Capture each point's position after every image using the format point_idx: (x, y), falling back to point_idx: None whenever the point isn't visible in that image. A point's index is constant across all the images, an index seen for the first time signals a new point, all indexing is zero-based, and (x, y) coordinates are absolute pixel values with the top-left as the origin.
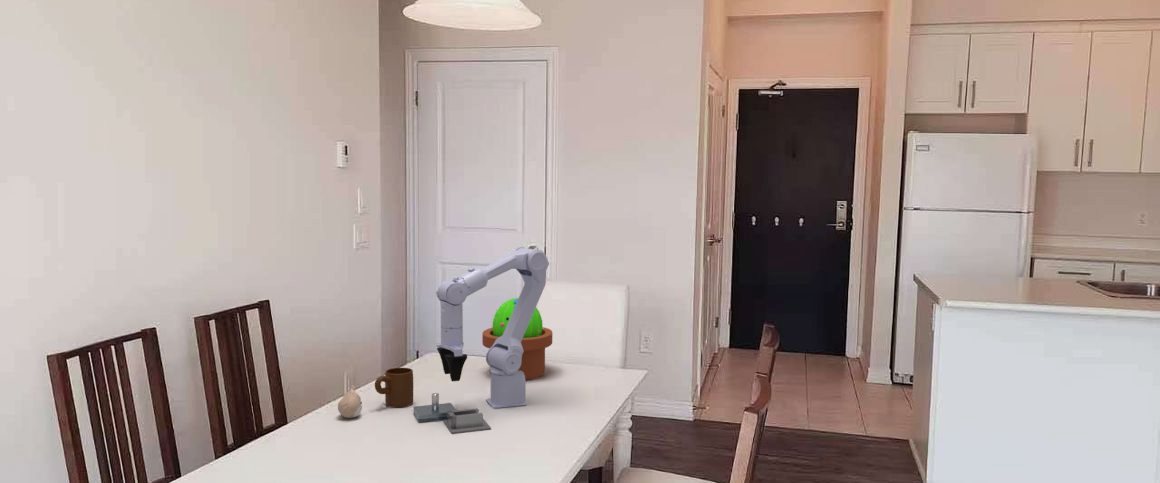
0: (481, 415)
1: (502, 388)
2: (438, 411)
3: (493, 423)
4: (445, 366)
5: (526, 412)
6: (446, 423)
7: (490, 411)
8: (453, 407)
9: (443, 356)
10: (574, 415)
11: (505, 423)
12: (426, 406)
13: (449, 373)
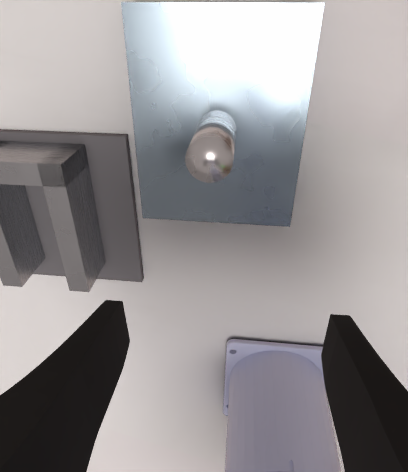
0: (5, 277)
1: (231, 425)
2: (167, 135)
3: (71, 291)
4: (349, 371)
5: (159, 389)
6: (74, 139)
7: (205, 321)
8: (208, 217)
9: (388, 469)
10: (103, 447)
11: (65, 318)
12: (285, 91)
13: (326, 341)
